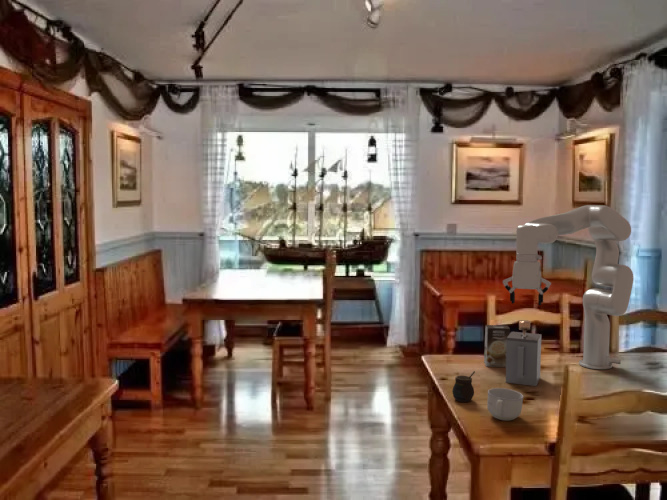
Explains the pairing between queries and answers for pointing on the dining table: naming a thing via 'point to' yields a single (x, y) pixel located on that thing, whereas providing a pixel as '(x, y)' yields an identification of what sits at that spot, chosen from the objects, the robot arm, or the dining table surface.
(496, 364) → the coffee box
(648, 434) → the dining table surface
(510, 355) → the press
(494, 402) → the teacup
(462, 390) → the mate gourd
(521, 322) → the plunger
